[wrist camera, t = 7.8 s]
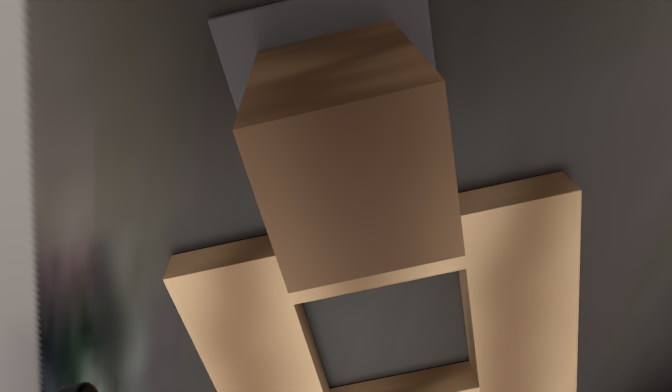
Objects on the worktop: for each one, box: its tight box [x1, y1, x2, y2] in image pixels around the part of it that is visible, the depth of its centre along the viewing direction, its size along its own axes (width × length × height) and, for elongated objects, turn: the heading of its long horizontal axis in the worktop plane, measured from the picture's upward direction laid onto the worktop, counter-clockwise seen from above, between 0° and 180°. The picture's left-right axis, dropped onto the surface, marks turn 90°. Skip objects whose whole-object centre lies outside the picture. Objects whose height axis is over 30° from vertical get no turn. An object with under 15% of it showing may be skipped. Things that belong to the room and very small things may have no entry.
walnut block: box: [232, 19, 465, 294], centre depth 15 cm, size 4×4×7 cm
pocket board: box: [163, 171, 582, 392], centre depth 23 cm, size 16×12×2 cm
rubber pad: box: [207, 0, 436, 113], centre depth 18 cm, size 7×7×1 cm
